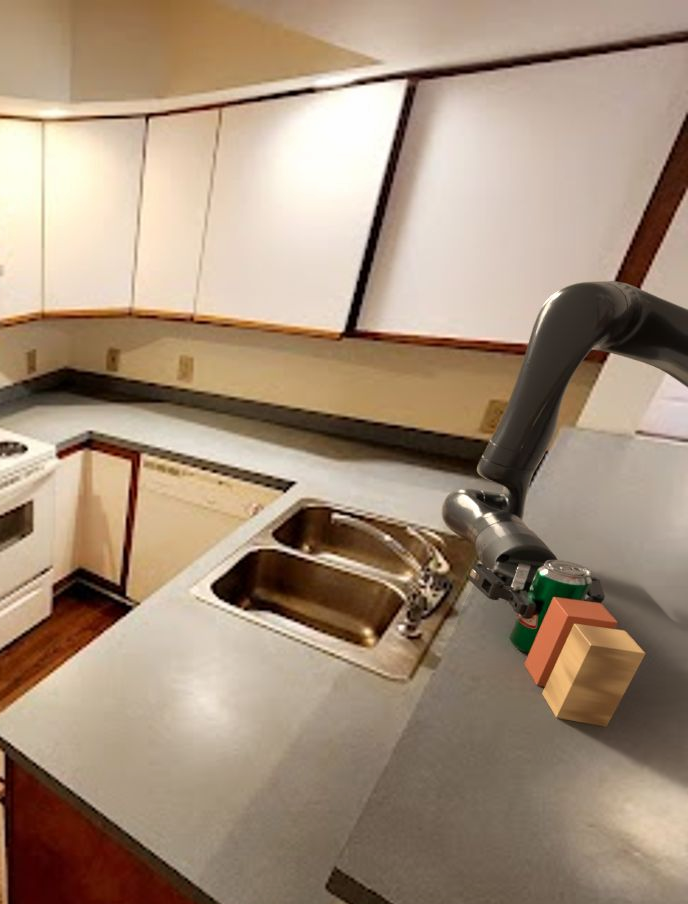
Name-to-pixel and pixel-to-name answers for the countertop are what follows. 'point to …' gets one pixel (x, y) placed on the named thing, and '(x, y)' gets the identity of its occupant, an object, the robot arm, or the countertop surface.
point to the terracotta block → (562, 633)
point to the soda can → (549, 597)
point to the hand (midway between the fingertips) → (559, 616)
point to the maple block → (592, 674)
